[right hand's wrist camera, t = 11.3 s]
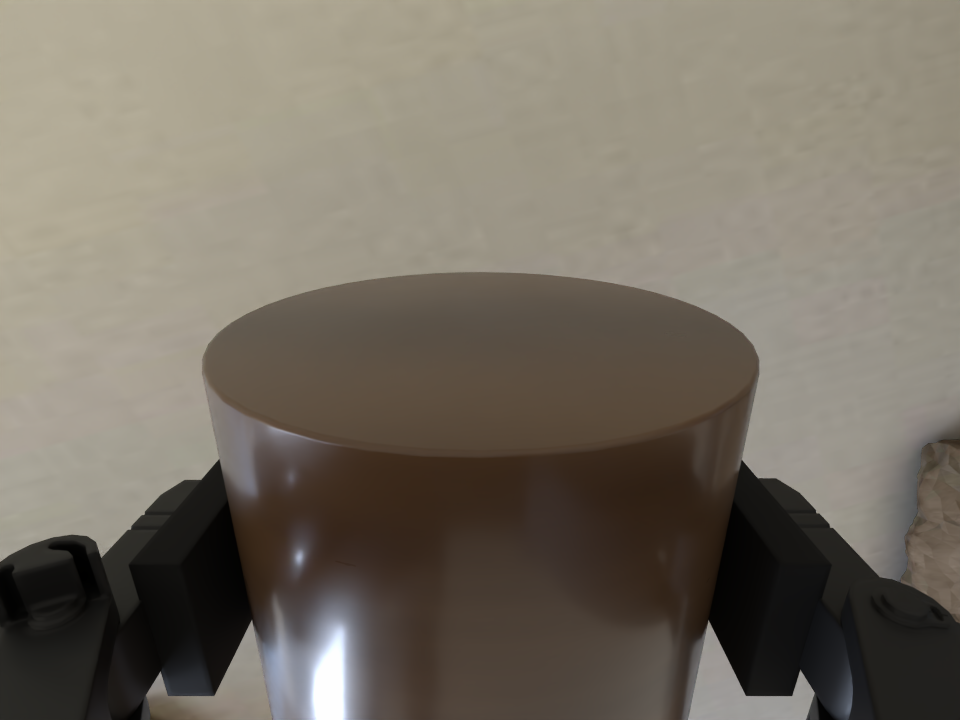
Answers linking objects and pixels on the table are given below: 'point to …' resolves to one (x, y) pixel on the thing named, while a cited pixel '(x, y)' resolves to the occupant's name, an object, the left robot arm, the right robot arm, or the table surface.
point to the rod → (480, 494)
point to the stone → (937, 527)
